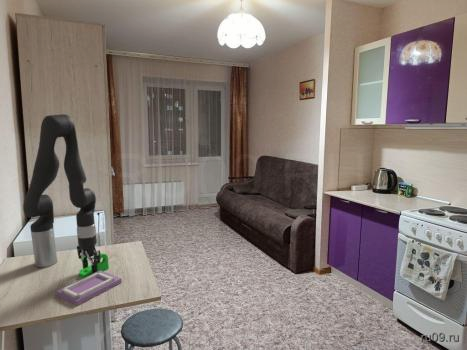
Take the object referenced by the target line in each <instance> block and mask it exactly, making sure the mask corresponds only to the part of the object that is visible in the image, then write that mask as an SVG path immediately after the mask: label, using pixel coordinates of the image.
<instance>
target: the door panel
mask: <svg viewBox="0 0 467 350" xmlns="http://www.w3.org/2000/svg"><path fill="white" fill-rule="evenodd" d="M122 282H123V281H122V278H121V277H119V276H116V275H114V274H111V273H109V272H106V271H101V270H100V271H98V272H96V273H94V274H91V275H89V276H87V277H85V278H83V279H82V278H80V279H78V280H76V281H74V282H72V283H70V284H68V285H65V286H63V287H61V288H59V289H57V290H55V293H56V294H55V295H56V296H58V297H60V298H61V299H63V300H66V301H67V302H70V303H72V304H73V305H76V306H79V305H81V304H83V303H85V302H86V301H89V300H91V299H93V298H94V297H96V296H98V295H100V294H102V293H104V292H106V291H108V290H109V289H113V288H114V287H116V286H117V285H119V284H121V283H122Z"/></svg>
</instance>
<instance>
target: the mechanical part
mask: <svg viewBox="0 0 467 350" xmlns="http://www.w3.org/2000/svg"><path fill="white" fill-rule="evenodd" d="M101 259H102V260H101ZM97 261H98V259H97ZM108 269H110V268H109V256H108V255H107V254H105V253H104V252H100V263H98V264H97V272H98V271H100V270H101V271H104V272H106V270H108ZM78 273H79V278H80V279H83V278H85V277H87V276H89V275H91V274H94V273H96V272H94V273H93V272H92V267H91V265H88V267H87V268H84V269H83V268H82V269H81V270H79V272H78Z"/></svg>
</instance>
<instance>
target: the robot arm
mask: <svg viewBox="0 0 467 350" xmlns="http://www.w3.org/2000/svg"><path fill="white" fill-rule="evenodd" d="M76 130H77V129H76V126H75V122H74V120H73V119H72V117H71V116H70V115H68V114H51V115H50V114H49V115H46V116H45V117H44V118H43V119H42V121H41V125H40V132H39V133H40V135H39V143H38V149H37V154H36V158H35V161H34V162H35V163H34V166H33V170H32V176H31V179H30V184H29V187H28V190H27V192H26V194H25V197H24V201H23V204H22V208H23V209H22V210H23V214H24V215H25V216H26V217H28V218H37V217H38V218H37V219H36V220H34V222H32V223H31V224H30V225H29V226H30V228H29V229H30V234H31V243H32V251H33V258H34V265H35V267H36V268H46V267H51V266H53V265H56V263H58V256H57V246H56V238H55V230H54V222H55V216H54V215H55V214H54V203H53V200H52V198H51V196H49V195H48V194H44V192H45V191H46V190H47V189H48V188H49V187H50V185H52V184H53V183H54V181H55V179H56V178H57V176H58V174H59V173H58V172H59V168H60V161H59V157H58V155H57V154H56V151H55V147H56V143H57V140H58V138H59V139H60V138H63V140H64V143H65V156H64V158H63V159H64V161H63V170H64V173H65V176H66V179H67V182H68V190H69V191H68V193H69V200H70V202H71V204H72V205H73V206H74V208H78V209H79V211H78V212H76V216H75V218H76V219H75V221H76V236H77V237H76V238H77V246H76V250H77V256H78V259H79V260H80V261H81V263H82V269H84V268H87V267H89V262H90V266H91V267H92V272H93V273H94V272H97V264H98V263H100V262H101V260H100V253H101V250H97V249H96V244H97V243H98V237H97V229H96V223H95V215H94V213H95V208H96V201H97V199H96V198H97V197H96V194H95V192H94V190H93V189H91V188H88V187H87V188H84V184H85V183H86V182H87V177H86V176H87V175H86V173H85V170H84V167H83V163H82V160H81V157H80V148H79V143H78V135H77V131H76ZM97 259H98V261H97Z"/></svg>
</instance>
